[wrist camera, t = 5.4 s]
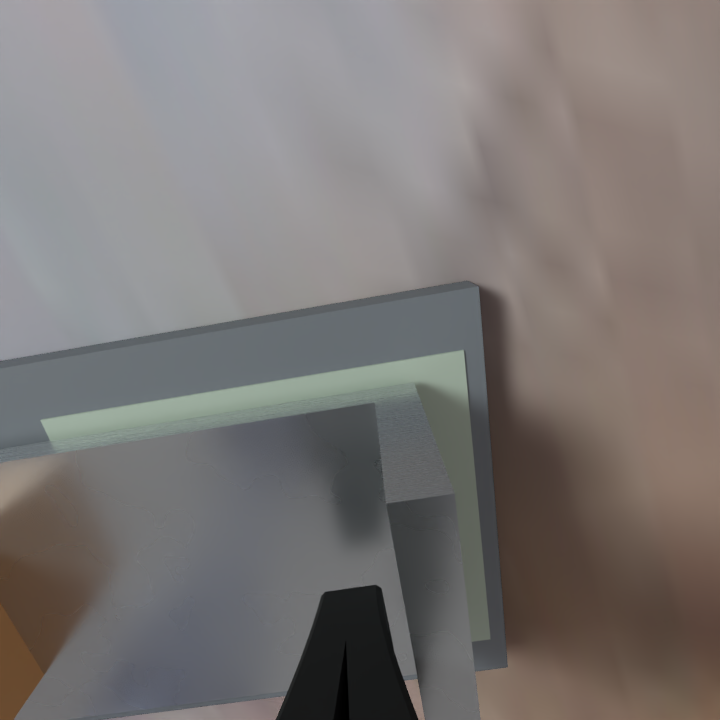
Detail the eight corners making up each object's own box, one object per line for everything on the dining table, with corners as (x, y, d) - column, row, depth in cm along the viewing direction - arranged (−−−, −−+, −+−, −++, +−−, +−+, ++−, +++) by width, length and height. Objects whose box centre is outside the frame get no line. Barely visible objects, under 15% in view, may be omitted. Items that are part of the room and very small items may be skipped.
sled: (449, 642, 13) (493, 839, 9) (-111, 716, 14) (-311, 928, 9) (413, 382, 10) (454, 493, 6) (-293, 496, 11) (-690, 664, 7)
